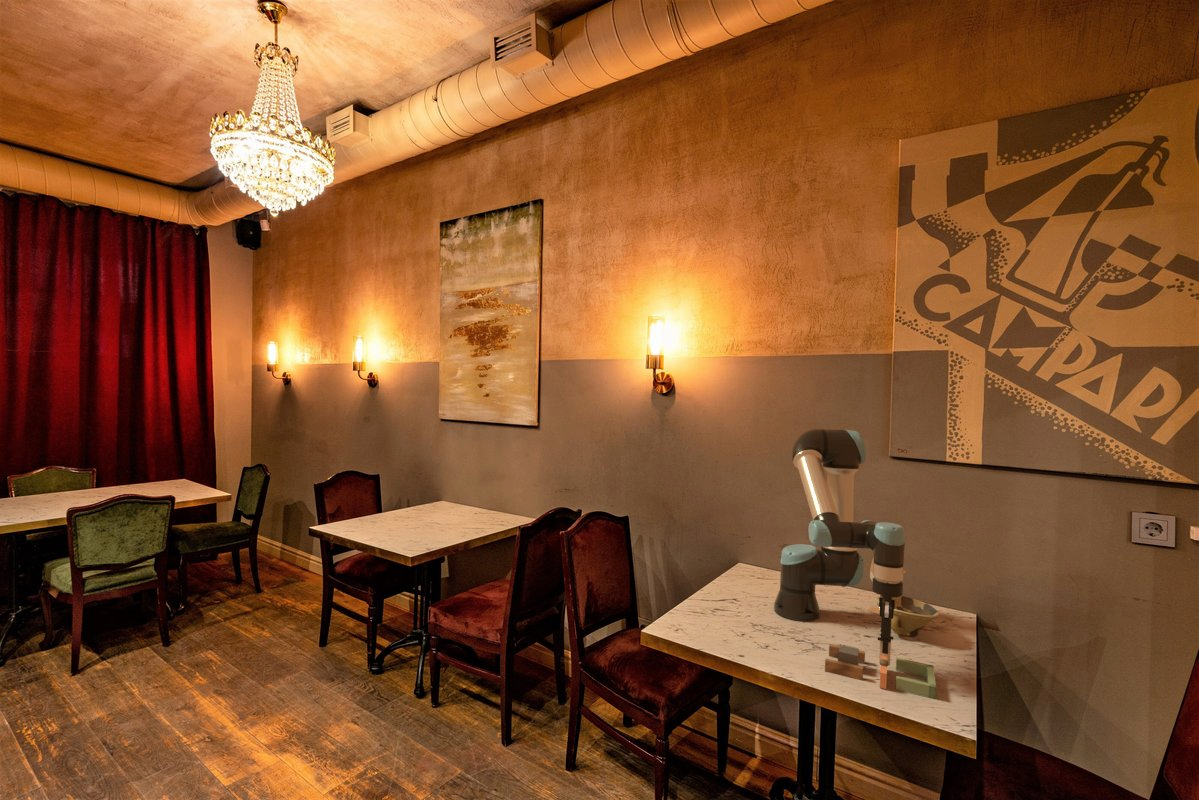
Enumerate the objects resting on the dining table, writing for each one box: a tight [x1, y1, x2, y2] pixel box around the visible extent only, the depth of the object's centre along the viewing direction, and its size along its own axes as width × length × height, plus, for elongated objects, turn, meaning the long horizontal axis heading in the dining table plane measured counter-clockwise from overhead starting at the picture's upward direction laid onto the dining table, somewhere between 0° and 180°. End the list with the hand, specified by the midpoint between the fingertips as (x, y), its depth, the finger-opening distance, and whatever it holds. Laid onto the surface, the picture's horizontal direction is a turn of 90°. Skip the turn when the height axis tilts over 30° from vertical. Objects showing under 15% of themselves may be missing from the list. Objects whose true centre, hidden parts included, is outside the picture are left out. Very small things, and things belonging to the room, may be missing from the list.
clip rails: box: [824, 643, 866, 681], centre depth 161 cm, size 10×12×3 cm
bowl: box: [875, 595, 941, 638], centre depth 186 cm, size 18×18×10 cm
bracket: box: [895, 657, 937, 700], centre depth 153 cm, size 9×14×3 cm, turn 152°
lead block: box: [837, 644, 860, 666], centre depth 161 cm, size 5×5×5 cm
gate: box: [879, 656, 889, 690], centre depth 154 cm, size 2×11×5 cm, turn 153°
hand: (884, 663), depth 160 cm, fingers closed
